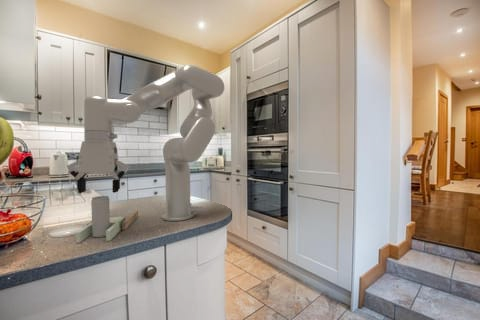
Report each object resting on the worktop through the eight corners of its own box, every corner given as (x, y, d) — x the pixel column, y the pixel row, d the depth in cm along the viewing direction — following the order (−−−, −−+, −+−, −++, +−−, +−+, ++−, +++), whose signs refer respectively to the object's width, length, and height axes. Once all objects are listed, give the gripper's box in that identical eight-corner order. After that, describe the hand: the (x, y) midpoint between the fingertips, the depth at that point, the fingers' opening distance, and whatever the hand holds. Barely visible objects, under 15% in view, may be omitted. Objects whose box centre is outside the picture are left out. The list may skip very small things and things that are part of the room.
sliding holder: (125, 225, 81) (125, 216, 81) (109, 240, 67) (109, 230, 67) (98, 226, 80) (97, 218, 79) (76, 242, 66) (75, 232, 66)
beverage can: (97, 232, 74) (96, 196, 74) (113, 232, 75) (112, 195, 74) (88, 238, 70) (87, 199, 69) (105, 237, 70) (104, 199, 69)
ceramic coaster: (89, 226, 80) (89, 224, 80) (75, 236, 71) (75, 234, 71) (60, 228, 78) (60, 226, 78) (42, 238, 69) (42, 235, 69)
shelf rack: (138, 216, 92) (138, 210, 92) (125, 229, 77) (125, 222, 77) (105, 218, 90) (105, 212, 90) (87, 231, 75) (86, 224, 75)
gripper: (132, 138, 76) (132, 189, 77) (74, 137, 73) (75, 190, 74) (124, 137, 69) (124, 193, 69) (60, 135, 66) (61, 194, 66)
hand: (99, 192), depth 72 cm, fingers open, 9 cm apart
